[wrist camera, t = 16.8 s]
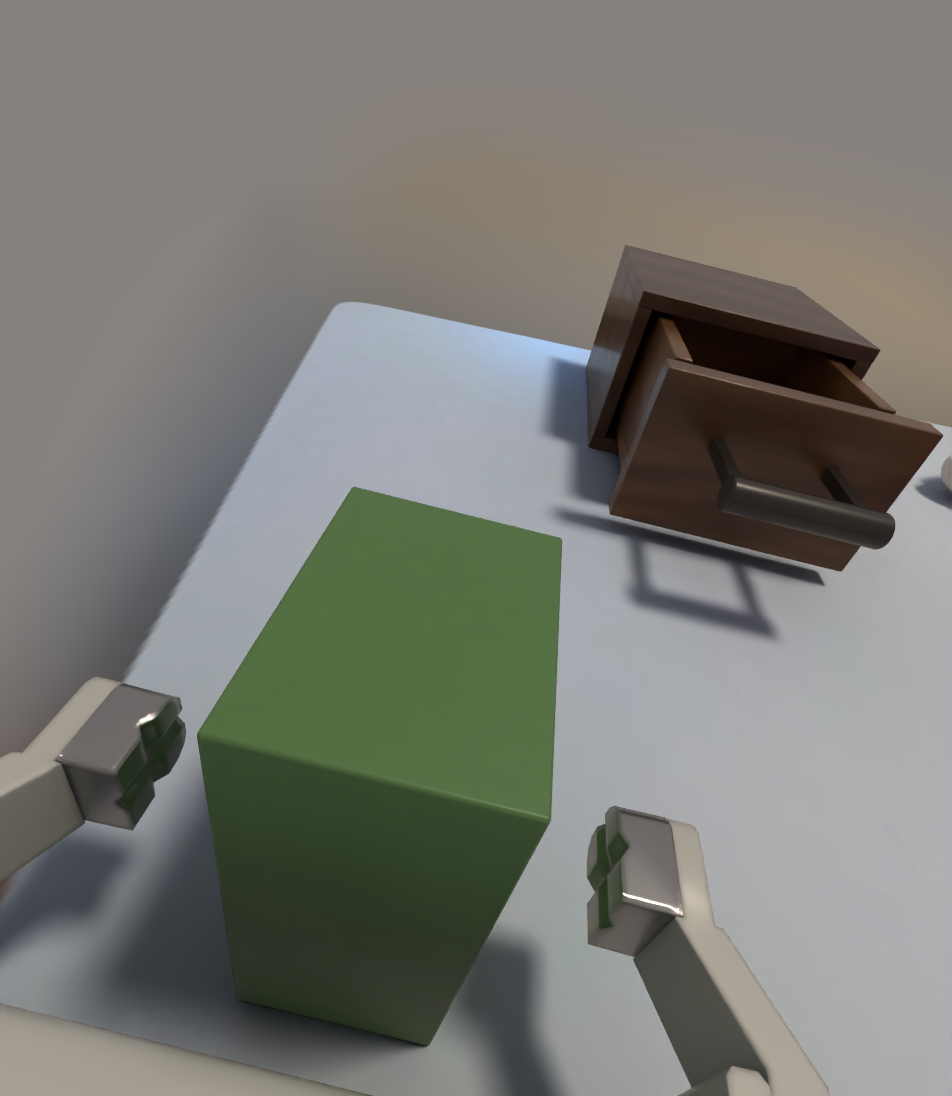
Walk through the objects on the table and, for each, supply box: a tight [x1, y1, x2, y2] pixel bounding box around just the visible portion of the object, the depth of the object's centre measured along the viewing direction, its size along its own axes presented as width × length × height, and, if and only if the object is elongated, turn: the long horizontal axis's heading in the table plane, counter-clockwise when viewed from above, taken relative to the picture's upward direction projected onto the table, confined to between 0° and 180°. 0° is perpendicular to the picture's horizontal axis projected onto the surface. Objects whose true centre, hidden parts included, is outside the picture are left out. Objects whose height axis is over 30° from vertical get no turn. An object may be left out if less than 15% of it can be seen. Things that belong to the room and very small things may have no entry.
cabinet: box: [586, 245, 880, 454], centre depth 39 cm, size 15×13×9 cm
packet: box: [197, 487, 562, 1046], centre depth 11 cm, size 4×6×9 cm
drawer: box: [609, 310, 943, 572], centre depth 29 cm, size 18×11×7 cm, turn 172°
